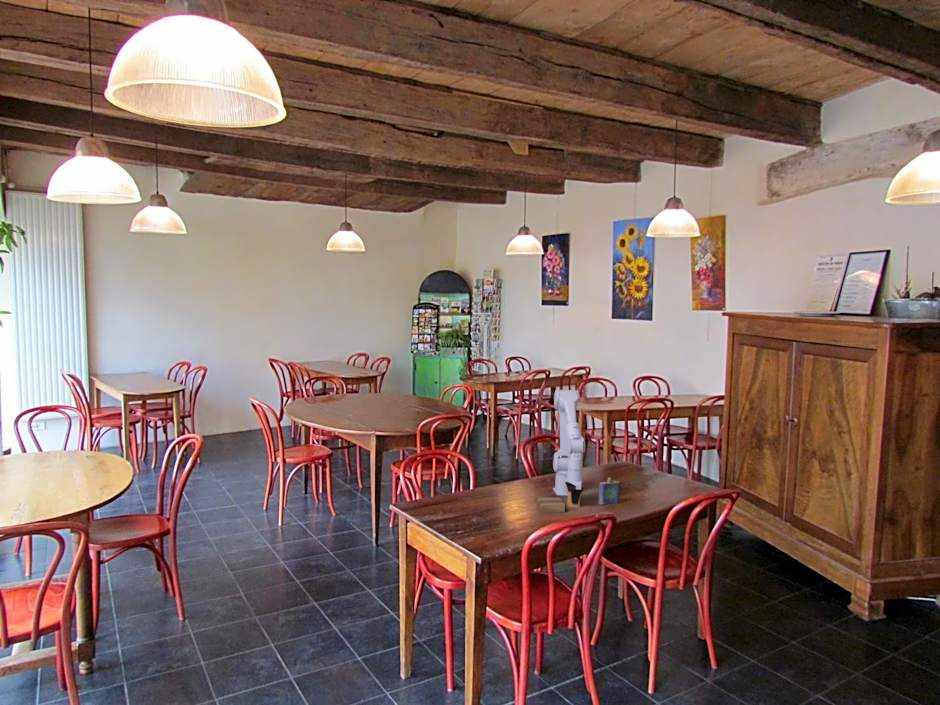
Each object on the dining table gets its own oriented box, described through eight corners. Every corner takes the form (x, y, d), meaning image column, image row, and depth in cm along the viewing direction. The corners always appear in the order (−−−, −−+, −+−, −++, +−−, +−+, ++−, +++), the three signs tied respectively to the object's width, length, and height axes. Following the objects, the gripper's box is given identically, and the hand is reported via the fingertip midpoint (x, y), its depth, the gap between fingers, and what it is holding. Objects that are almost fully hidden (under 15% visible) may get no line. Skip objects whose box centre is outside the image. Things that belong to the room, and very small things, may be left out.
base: (537, 504, 258) (537, 497, 257) (559, 504, 258) (559, 497, 258) (541, 512, 249) (541, 504, 248) (564, 512, 249) (564, 504, 249)
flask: (600, 505, 259) (601, 479, 258) (596, 503, 261) (597, 477, 260) (620, 504, 262) (621, 478, 261) (616, 501, 264) (617, 476, 263)
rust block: (567, 503, 260) (567, 491, 260) (577, 503, 260) (577, 491, 260) (569, 507, 256) (570, 494, 256) (579, 507, 256) (580, 494, 256)
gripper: (561, 463, 264) (559, 496, 265) (569, 473, 249) (567, 507, 251) (578, 463, 264) (576, 496, 266) (587, 473, 250) (585, 507, 251)
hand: (573, 501), depth 258 cm, fingers closed on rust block, 4 cm apart
